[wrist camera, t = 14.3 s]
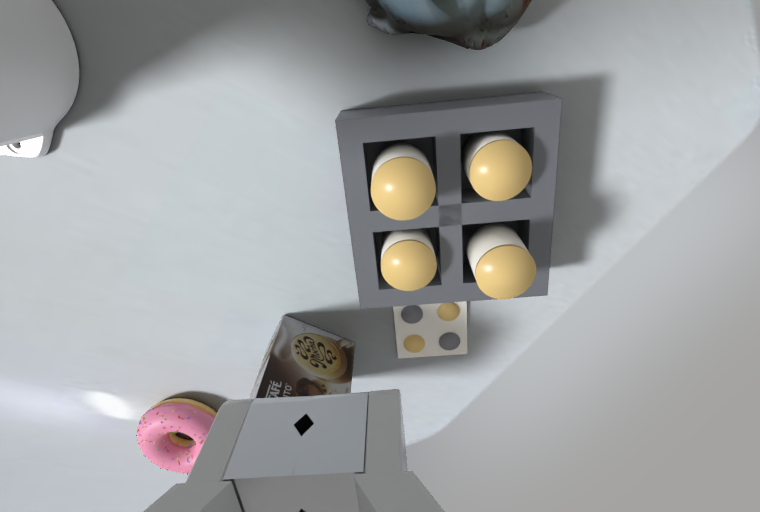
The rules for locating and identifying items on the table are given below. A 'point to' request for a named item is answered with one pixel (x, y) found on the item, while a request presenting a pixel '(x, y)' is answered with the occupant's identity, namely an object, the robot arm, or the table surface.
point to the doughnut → (174, 418)
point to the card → (431, 329)
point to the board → (449, 189)
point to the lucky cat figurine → (449, 19)
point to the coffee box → (304, 363)
